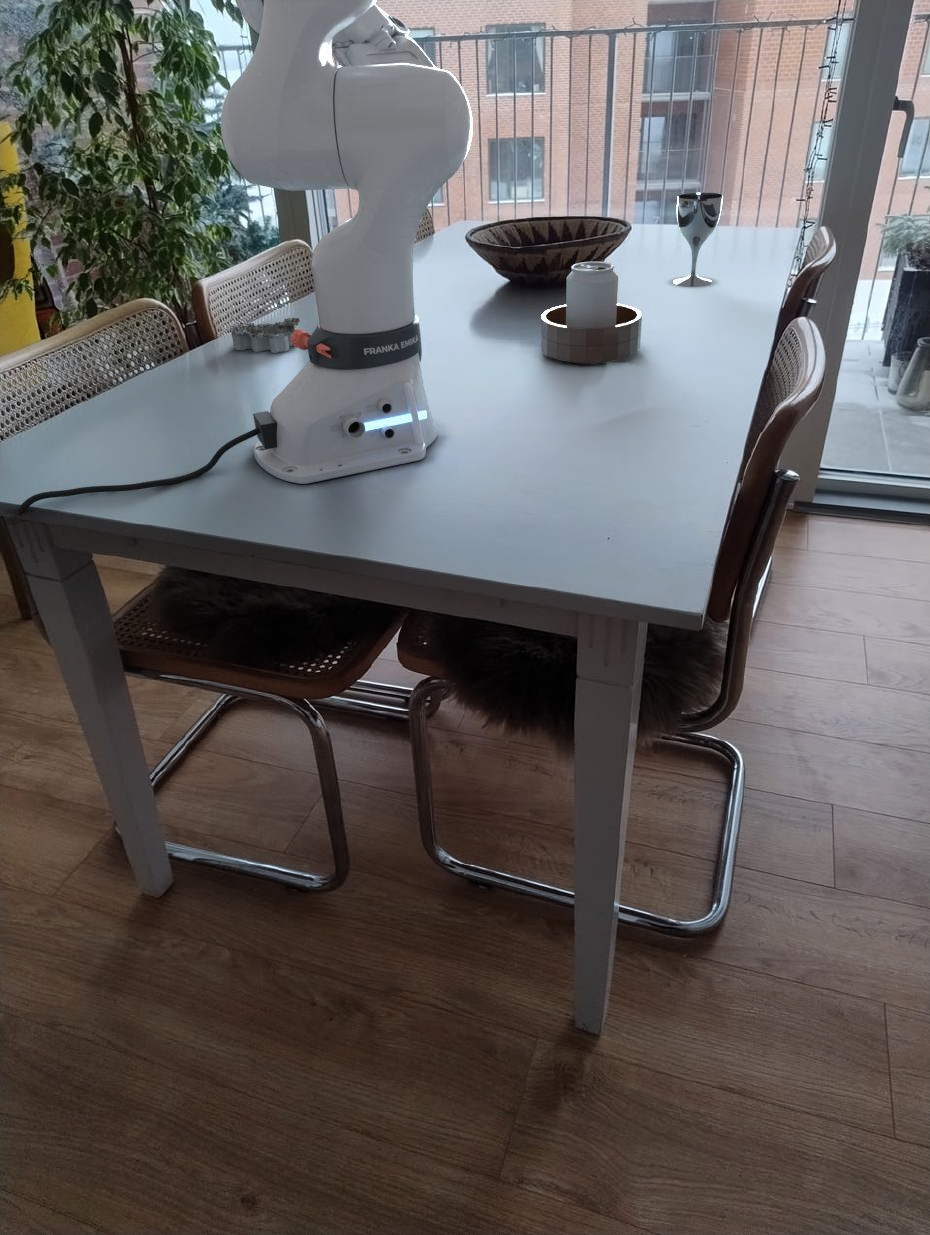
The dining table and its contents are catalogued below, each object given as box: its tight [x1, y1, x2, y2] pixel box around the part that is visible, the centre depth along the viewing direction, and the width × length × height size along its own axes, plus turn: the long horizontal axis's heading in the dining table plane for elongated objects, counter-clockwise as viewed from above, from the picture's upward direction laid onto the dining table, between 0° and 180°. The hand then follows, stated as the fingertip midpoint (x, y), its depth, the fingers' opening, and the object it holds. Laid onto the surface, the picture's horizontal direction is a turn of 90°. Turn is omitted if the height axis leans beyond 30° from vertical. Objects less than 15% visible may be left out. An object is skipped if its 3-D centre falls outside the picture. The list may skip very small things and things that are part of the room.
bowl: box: [540, 303, 643, 365], centre depth 131 cm, size 15×15×6 cm
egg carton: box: [227, 317, 301, 354], centre depth 143 cm, size 11×8×4 cm
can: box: [565, 261, 619, 328], centre depth 129 cm, size 8×8×12 cm
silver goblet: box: [673, 192, 724, 288], centre depth 162 cm, size 8×8×15 cm
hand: (431, 120), depth 124 cm, fingers open, 8 cm apart
